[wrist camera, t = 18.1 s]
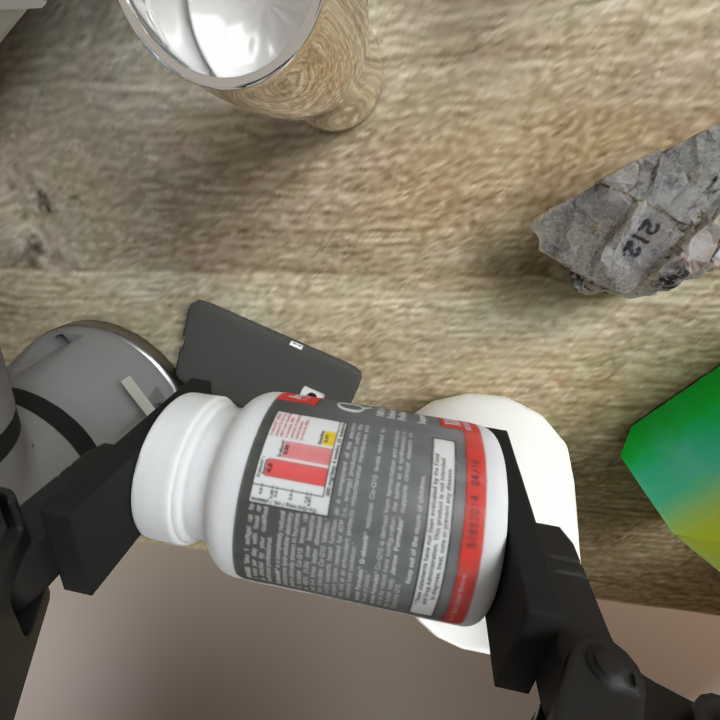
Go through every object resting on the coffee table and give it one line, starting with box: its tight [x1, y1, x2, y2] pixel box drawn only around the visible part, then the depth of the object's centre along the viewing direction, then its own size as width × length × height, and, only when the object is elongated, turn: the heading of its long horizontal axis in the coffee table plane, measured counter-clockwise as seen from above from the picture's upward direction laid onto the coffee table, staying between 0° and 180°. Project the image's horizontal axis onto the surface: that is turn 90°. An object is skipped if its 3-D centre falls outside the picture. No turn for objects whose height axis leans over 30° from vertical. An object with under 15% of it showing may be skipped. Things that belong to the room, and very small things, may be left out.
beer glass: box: [118, 0, 383, 132], centre depth 17 cm, size 7×7×15 cm
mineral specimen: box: [531, 124, 720, 299], centre depth 23 cm, size 10×8×10 cm
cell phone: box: [176, 300, 361, 408], centre depth 33 cm, size 8×15×1 cm, turn 68°
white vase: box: [414, 393, 581, 654], centre depth 27 cm, size 13×13×14 cm
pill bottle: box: [131, 392, 508, 627], centre depth 13 cm, size 6×6×10 cm
